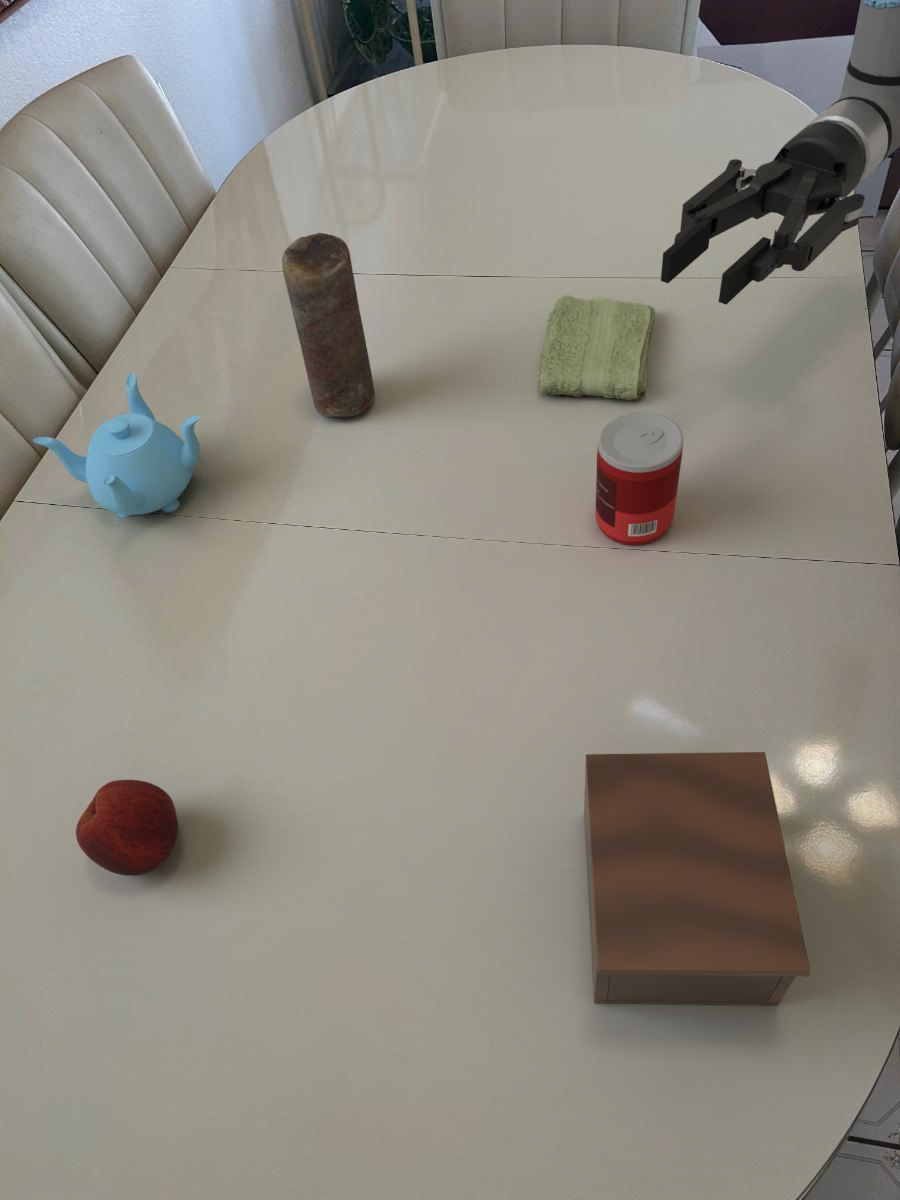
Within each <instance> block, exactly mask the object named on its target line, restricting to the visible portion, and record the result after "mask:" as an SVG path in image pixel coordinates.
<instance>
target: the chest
mask: <svg viewBox="0 0 900 1200" xmlns="http://www.w3.org/2000/svg"><path fill="white" fill-rule="evenodd" d="M584 770H585V771H584V772H585V773H584V801H583V802H584V804H583V805H584V807H583V818H584V836H585V852H586V853H585V856H586V873H587V877H586V878H587V892H588V893H587V895H588V909H589V910H588V911H589V912H588V913H589V931H590V950H591V951H590V952H591V966H592V967H591V968H592V971H591V972H592V989H593V1003H594V1004H599V1005H600V1004H601V1005H602V1004H604V1005H605V1004H606V1005H609V1004H610V1005H614V1004H615V1005H677V1006H679V1005H681V1006H743V1007H744V1006H745V1007H747V1006H749V1007H750V1006H751V1007H753V1006H754V1007H778V1006H780V1004H781V1001H782V1000H783V998H784V996H785V995H786V993H787V992H788V990H789V989H790V987H791V985H792V984H793V982H794V981H795V979H796V976H704V975H612V974H598V962H597V944H596V927H595V910H594V893H593V876H592V859H591V842H590V825H589V808H588V791H587V774H586V765H585V768H584Z"/></svg>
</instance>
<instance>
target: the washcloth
mask: <svg viewBox="0 0 900 1200" xmlns="http://www.w3.org/2000/svg"><path fill="white" fill-rule="evenodd" d="M655 314H656V310H655V308H654V307H653V306H652V305H649V304H645V303H642V302H633V301H632V302H631V301H630V302H629V301H618V300H616V299H612V298H607V297H600V296H599V297H593V298H580V297H579V298H578V297H575V296H572V295H568V294H565V295H562V296H561V297H560V298H558V299H557V300H556V302H555V304H554V307H553V309H552V311H551V312H550V313H549V317H548V319H547V322H548V323H547V324H548V326H547V327H546V334H545V340H544V343H543V346H542V348H543V350H542V352H541V355H540V357H539V373H538V375H539V378H538V384H539V386H538V387H537V388H538V390H539V391H540V394H542V395H553V396H554V395H565V396H572V397H578V398H580V397H581V396H584V395H586V396H593V397H596V396H598V397H603V398H605V399H616V400H619V399H621V400H627V401H629V402H630V401H633V400H638V399H639V398H640V395H641V394H642V393H644V392H645V391H646V390H648V389H647V388H648V387H647V383H648V369H647V365H648V364H647V363H648V353H649V350H648V349H649V346H650V338H651V331H652V330H653V326H654V321H655Z"/></svg>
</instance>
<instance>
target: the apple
mask: <svg viewBox="0 0 900 1200" xmlns="http://www.w3.org/2000/svg"><path fill="white" fill-rule="evenodd" d="M178 836H179V822H178V817H177V811H176V806H175V803H174V801H173V799H172V797H171V795H169V794H168V793H167V791H166V790H164V789H163V788H161V787H160V786H158V785H156V784H154V783H151V782H148V781H145V780H138V779H117V780H112V781H109V782H107V783H106V784H104V785H103V786H101V787H100V788H99V789H97V791H96V793H95V794H94V797H93V798H92V800H91V801H90V803H89V804H88V806H87V808H86V809H84V811H83V813H82V814H81V816H80V817H79V819H78V821H77V824H76V829H75V837H76V841H77V844H78V847H80V849H81V850H82V852H83V853H84V854H85V855H86V856H87V858H88V859H90V860H91V861H92V862H93V863H95V864H96V865H98V866H99V867H101V868H103V869H104V870H106V871H108V872H110V873H114V874H116V875H120V876H127V877H128V876H129V877H136V876H141V875H145V874H149V873H151V872H153V871H155V870H157V869H158V868H159V867H160V866H162V864H163V863H165V861H166V860H167V859H168V858H169V857H170V855H171V853H172V852H173V850H174V849H175V846H176V842H177V840H178Z"/></svg>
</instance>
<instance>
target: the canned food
mask: <svg viewBox="0 0 900 1200" xmlns="http://www.w3.org/2000/svg"><path fill="white" fill-rule="evenodd" d="M683 449H684V436H683V432H682V430H681V428H680V426H679V425H678V424H677V423H676V422H675V421H674V420H673V419H671V418H669V417H668V416H665V415H663V414H660V413H656V412H652V411H634V412H633V411H632V412H628V413H623V414H621V415H619V416H616V417H614V418H613V419H611V420H609V421H608V422H607V423H606V424H604V426H603V427H602V428H601V430H600V432H599V435H598V440H597V452H596V477H595V478H596V481H595V521H596V523H597V525H598V527H599V529H600V531H601V532H602V533H603V535H604V536H606V537H607V538H608V539H610V540H612V541H613V542H615V543H618V544H621V545H627V546H642V545H646V544H650V543H652V542H655V541H656V540H658V539H659V538H661V537H662V536H664V535H665V533H667V531H668V529H669V528H670V526H671V524H672V523H673V520H674V517H675V512H676V511H675V510H676V504H677V496H678V488H679V481H680V473H681V466H682V459H683Z"/></svg>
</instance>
